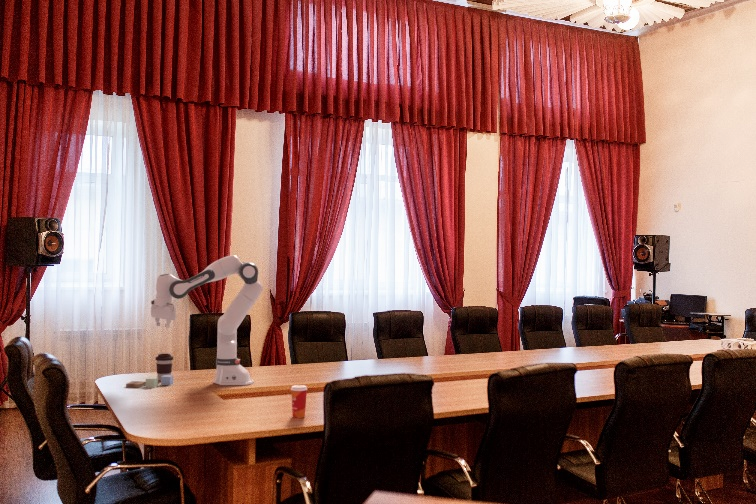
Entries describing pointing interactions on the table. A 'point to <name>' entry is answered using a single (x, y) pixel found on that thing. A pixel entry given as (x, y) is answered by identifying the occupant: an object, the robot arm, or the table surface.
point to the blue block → (167, 380)
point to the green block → (151, 382)
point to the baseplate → (135, 384)
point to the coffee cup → (164, 365)
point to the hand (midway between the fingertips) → (162, 326)
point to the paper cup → (298, 400)
